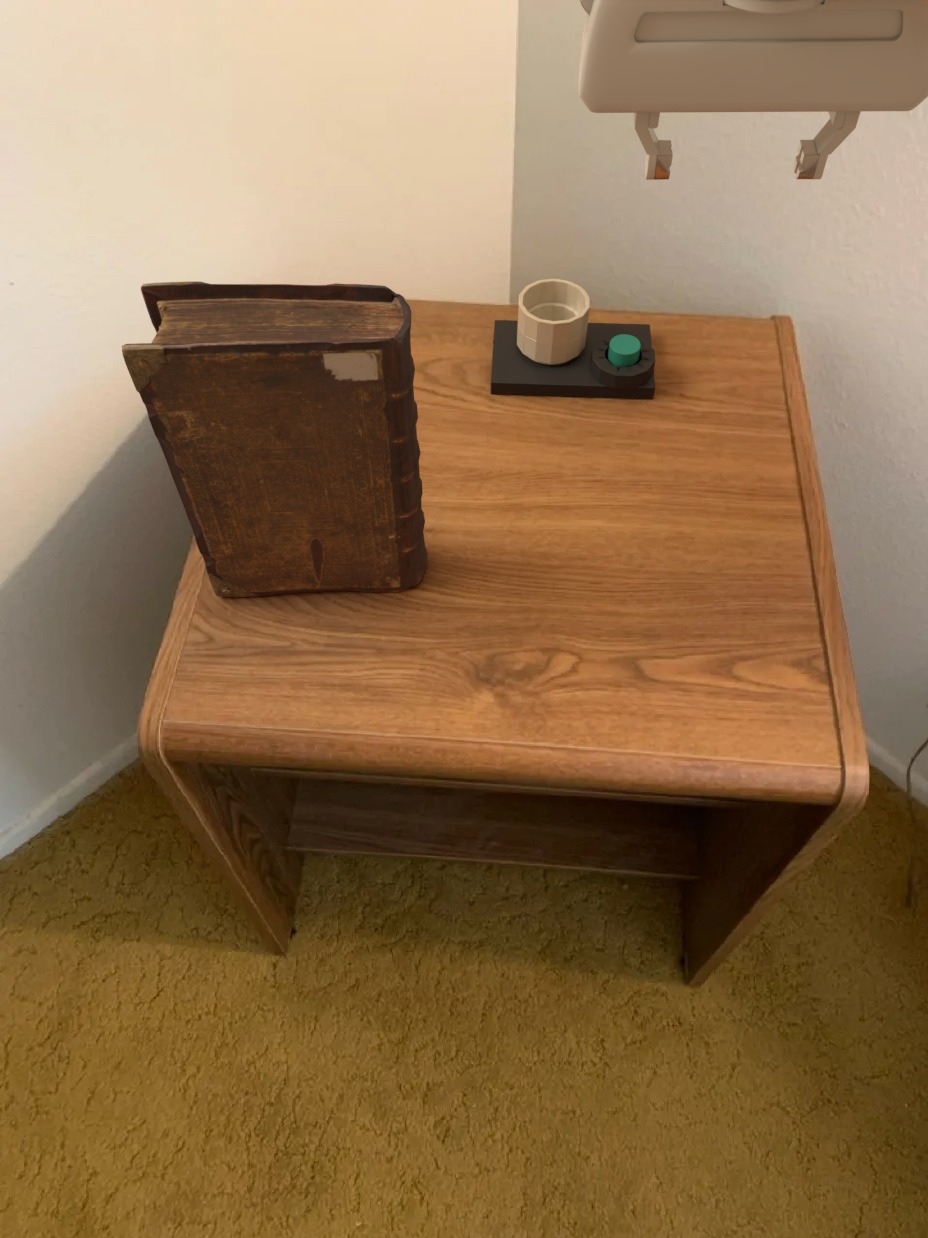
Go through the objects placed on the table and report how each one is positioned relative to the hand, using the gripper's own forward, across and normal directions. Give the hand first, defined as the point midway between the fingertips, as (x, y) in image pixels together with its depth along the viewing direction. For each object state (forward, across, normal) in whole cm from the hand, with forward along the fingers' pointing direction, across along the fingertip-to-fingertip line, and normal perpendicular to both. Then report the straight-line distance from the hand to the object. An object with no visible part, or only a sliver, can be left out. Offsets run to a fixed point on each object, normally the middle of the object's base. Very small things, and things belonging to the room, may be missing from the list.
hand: (731, 174), depth 59 cm
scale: (+26, -9, +13) cm, 30 cm away
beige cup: (+24, -11, +14) cm, 30 cm away
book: (+26, -28, -14) cm, 41 cm away
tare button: (+23, -4, +11) cm, 26 cm away
